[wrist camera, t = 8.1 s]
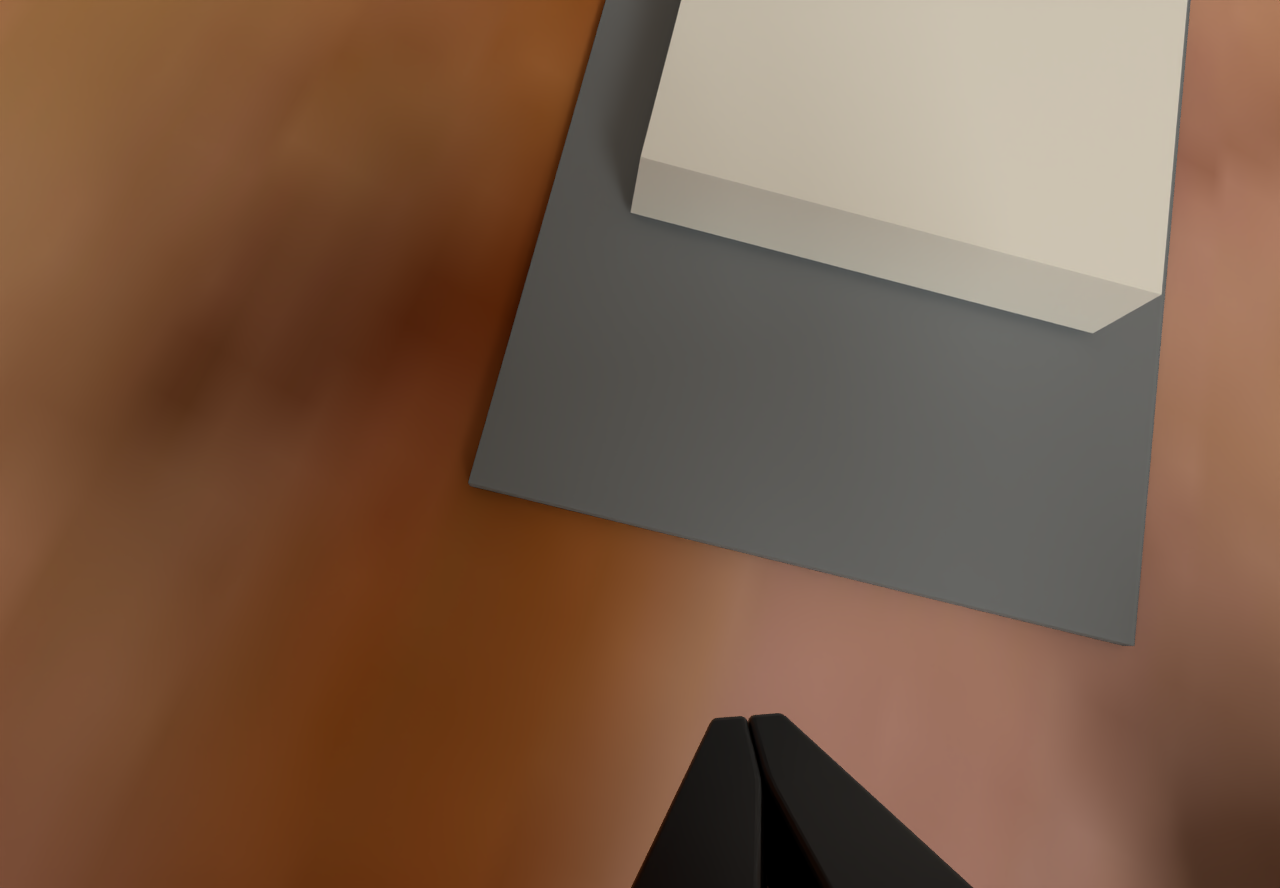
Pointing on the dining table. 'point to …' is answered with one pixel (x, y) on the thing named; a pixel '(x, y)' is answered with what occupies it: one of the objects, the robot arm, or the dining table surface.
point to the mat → (815, 395)
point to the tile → (930, 142)
